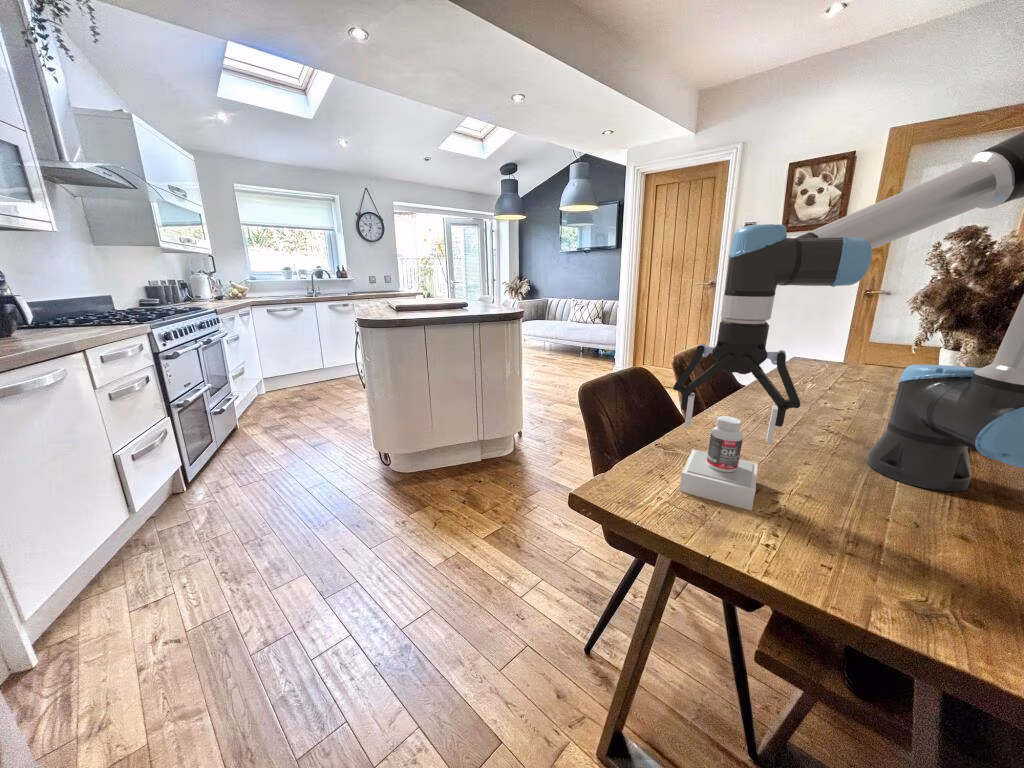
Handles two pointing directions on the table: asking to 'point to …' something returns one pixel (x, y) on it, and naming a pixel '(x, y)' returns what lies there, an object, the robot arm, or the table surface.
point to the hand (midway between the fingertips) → (726, 433)
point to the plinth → (719, 481)
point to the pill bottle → (725, 445)
